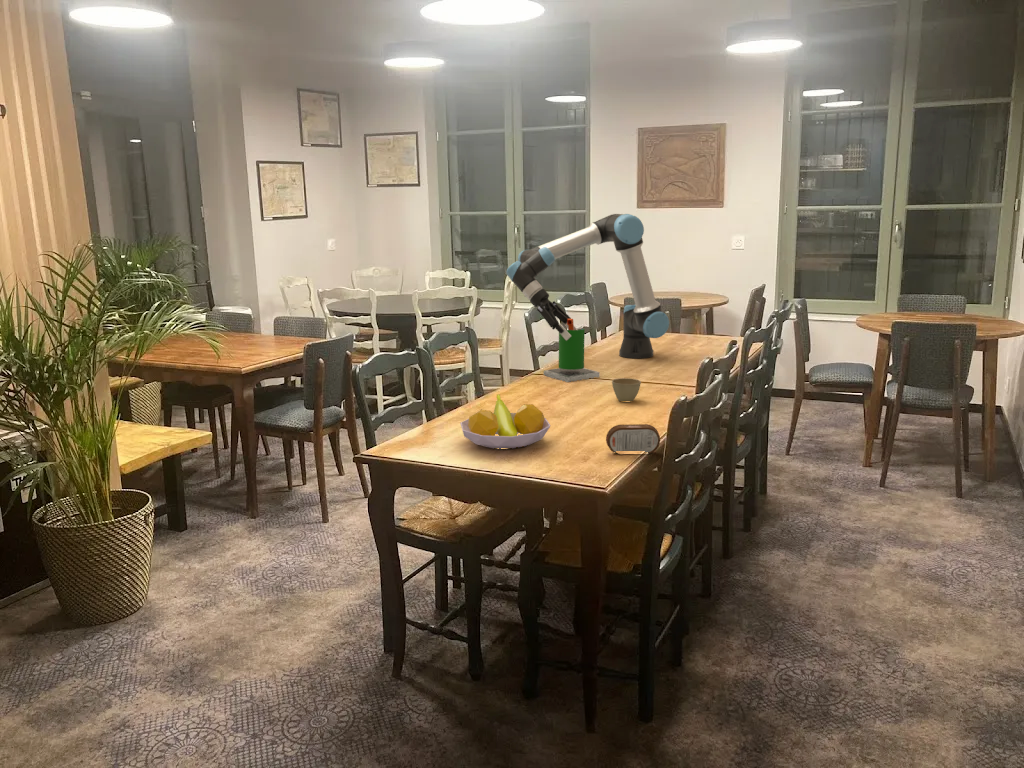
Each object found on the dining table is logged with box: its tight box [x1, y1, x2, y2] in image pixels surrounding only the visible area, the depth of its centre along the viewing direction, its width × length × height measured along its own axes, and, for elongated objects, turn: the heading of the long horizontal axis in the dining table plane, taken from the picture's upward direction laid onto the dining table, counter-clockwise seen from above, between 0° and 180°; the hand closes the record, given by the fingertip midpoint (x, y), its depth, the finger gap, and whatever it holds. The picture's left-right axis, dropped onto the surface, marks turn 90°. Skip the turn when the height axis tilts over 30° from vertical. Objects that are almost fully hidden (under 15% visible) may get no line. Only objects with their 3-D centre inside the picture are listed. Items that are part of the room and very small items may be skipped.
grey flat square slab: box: [543, 367, 601, 383], centre depth 335 cm, size 16×16×2 cm
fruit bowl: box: [460, 393, 551, 449], centre depth 247 cm, size 28×27×11 cm
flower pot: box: [611, 377, 642, 402], centre depth 294 cm, size 10×10×7 cm
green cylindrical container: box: [558, 318, 585, 370], centre depth 333 cm, size 10×9×20 cm
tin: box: [605, 423, 661, 455], centre depth 234 cm, size 15×3×8 cm, turn 92°
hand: (573, 336), depth 332 cm, fingers closed on green cylindrical container, 8 cm apart
